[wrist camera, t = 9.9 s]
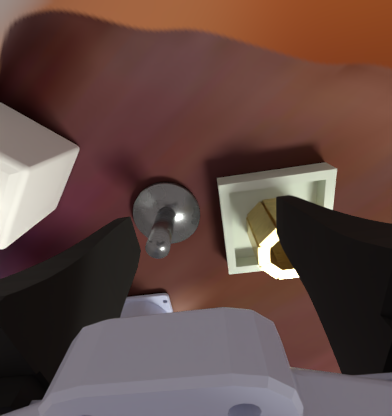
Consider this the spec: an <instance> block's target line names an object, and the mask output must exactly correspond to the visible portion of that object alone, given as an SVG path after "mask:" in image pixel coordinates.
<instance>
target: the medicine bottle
mask: <svg viewBox="0 0 392 416" xmlns="http://www.w3.org/2000/svg"><path fill="white" fill-rule="evenodd" d="M79 149H80V148H79V146H77V145H76V144H74V143H72V142H71V141H69V140H67V139H65V138H63V137H62V136H60V135H58V134H56V133H55V132H53V131H51V130H49V129H47V128H46V127H44V126H42V125H40V124H38V123H37V122H35V121H33V120H31V119H30V118H28V117H26V116H24V115H22V114H21V113H19V112H17V111H15V110H13V109H12V108H10V107H8V106H6V105H5V104H3V103H1V102H0V249H5V248H6V247H8V246H9V245H10V244H12V243H13V242H14V241H15V240H17V239H18V238H19V237H20V236H22V235H23V234H24V233H26V232H27V231H28V230H29V229H31V228H32V227H33V226H34V225H36V224H37V223H38V222H39V221H41V220H42V219H43V218H45V217H46V216H47V215H48V214H50V213H51V212H52V211H53V210H55V209H56V207H57V205H58V202H59V200H60V197H61V195H62V192H63V190H64V187H65V185H66V182H67V180H68V177H69V175H70V172H71V170H72V167H73V165H74V162H75V160H76V157H77V155H78V152H79Z"/></svg>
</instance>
